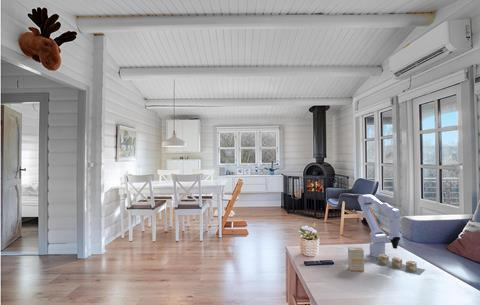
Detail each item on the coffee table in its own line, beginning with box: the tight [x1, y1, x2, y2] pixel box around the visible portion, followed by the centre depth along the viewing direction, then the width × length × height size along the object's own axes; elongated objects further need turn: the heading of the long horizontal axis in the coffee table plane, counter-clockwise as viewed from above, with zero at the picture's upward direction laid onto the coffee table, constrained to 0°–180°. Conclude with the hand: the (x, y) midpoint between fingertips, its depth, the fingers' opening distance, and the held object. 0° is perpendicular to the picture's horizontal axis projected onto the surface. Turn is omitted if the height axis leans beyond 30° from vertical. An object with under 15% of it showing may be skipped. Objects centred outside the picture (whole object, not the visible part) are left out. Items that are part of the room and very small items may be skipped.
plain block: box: [391, 256, 403, 268], centre depth 180 cm, size 4×4×4 cm
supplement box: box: [347, 246, 365, 272], centre depth 176 cm, size 8×5×13 cm, turn 84°
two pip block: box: [378, 254, 390, 264], centre depth 186 cm, size 4×4×5 cm
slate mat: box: [370, 257, 426, 276], centre depth 180 cm, size 28×12×1 cm, turn 42°
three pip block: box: [405, 259, 418, 271], centre depth 174 cm, size 4×4×5 cm
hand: (395, 248), depth 187 cm, fingers closed
